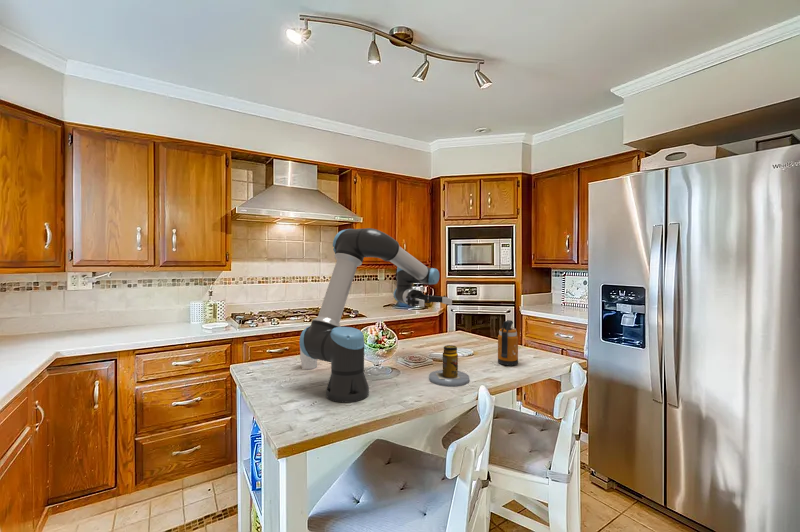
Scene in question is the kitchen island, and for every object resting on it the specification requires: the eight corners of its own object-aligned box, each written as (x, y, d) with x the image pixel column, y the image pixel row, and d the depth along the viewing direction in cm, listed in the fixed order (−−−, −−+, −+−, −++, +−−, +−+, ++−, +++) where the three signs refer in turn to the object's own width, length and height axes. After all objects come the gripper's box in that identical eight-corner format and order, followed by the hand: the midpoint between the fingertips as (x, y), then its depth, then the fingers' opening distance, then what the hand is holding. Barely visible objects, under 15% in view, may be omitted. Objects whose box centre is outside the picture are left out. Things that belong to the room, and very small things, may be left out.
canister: (520, 362, 175) (520, 319, 174) (513, 368, 166) (514, 323, 165) (501, 359, 180) (501, 318, 179) (493, 365, 170) (494, 321, 170)
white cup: (314, 370, 163) (314, 347, 162) (297, 369, 164) (296, 346, 164) (320, 365, 170) (320, 343, 170) (304, 364, 172) (304, 342, 171)
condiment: (460, 378, 148) (461, 348, 147) (439, 379, 146) (439, 349, 146) (455, 372, 155) (455, 344, 154) (435, 373, 154) (435, 344, 153)
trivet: (424, 383, 146) (424, 379, 146) (434, 371, 161) (434, 368, 161) (465, 388, 141) (465, 384, 141) (471, 375, 156) (471, 372, 156)
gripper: (436, 303, 183) (462, 309, 164) (389, 306, 172) (411, 313, 153) (436, 288, 183) (462, 292, 163) (389, 290, 171) (411, 295, 152)
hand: (437, 302), depth 158 cm, fingers open, 13 cm apart
